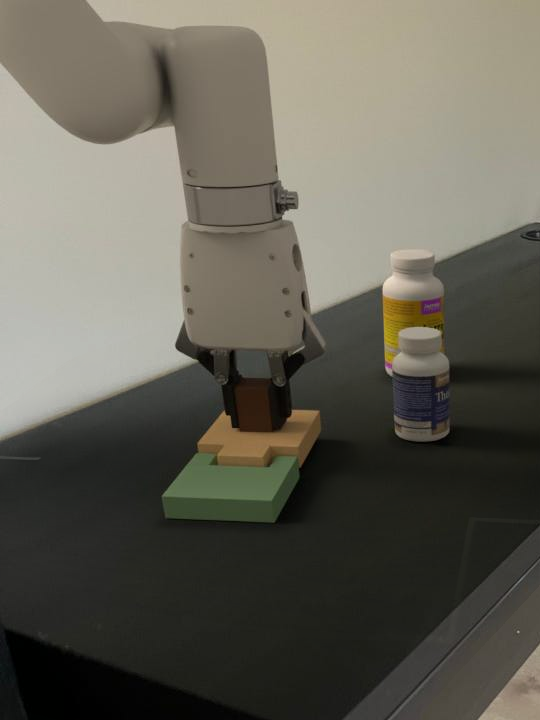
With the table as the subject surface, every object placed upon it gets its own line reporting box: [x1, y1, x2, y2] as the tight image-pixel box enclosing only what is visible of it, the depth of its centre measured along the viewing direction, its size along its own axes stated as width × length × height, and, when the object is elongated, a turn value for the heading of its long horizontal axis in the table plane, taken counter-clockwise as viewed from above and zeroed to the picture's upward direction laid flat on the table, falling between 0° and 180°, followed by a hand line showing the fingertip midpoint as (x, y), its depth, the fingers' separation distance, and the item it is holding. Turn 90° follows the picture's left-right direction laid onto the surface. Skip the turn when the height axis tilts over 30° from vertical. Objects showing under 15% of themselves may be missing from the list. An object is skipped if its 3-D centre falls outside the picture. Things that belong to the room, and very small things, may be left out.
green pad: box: [161, 452, 301, 524], centre depth 83 cm, size 9×9×2 cm
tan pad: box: [196, 377, 322, 469], centre depth 88 cm, size 9×12×6 cm
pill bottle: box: [391, 327, 451, 443], centre depth 93 cm, size 5×5×10 cm
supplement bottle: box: [382, 248, 445, 377], centre depth 108 cm, size 7×7×13 cm
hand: (260, 421), depth 90 cm, fingers closed on tan pad, 3 cm apart
